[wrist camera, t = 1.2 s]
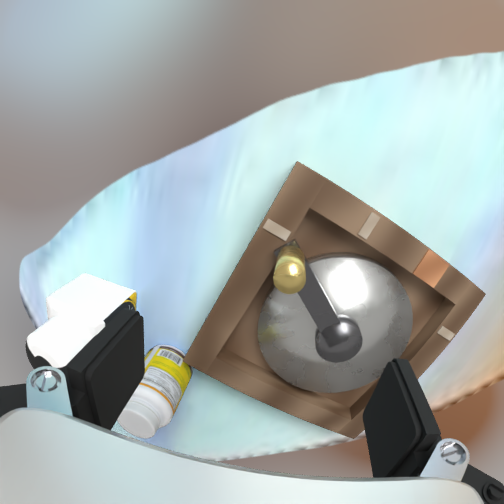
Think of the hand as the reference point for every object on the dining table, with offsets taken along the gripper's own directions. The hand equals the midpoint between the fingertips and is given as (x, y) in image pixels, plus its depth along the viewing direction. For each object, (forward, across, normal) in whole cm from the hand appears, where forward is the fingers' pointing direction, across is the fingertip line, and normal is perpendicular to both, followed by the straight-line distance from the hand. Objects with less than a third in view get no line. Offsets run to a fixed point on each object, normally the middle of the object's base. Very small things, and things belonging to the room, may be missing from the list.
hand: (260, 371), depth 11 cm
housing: (+17, -6, +6) cm, 20 cm away
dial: (+16, -6, +5) cm, 18 cm away
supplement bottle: (+18, +9, +16) cm, 26 cm away
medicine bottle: (+18, +17, +11) cm, 27 cm away
